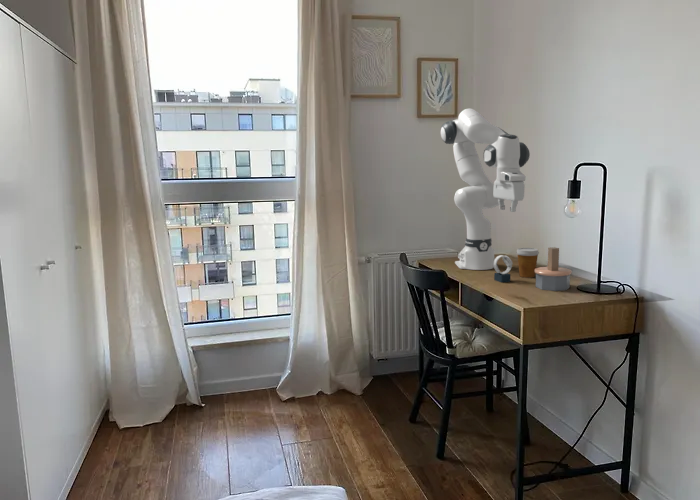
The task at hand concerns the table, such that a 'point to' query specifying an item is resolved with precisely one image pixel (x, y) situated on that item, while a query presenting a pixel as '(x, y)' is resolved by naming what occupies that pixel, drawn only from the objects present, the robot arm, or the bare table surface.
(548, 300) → the table surface
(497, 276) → the watch
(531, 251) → the disposable coffee cup
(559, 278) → the bowl
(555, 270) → the lid
